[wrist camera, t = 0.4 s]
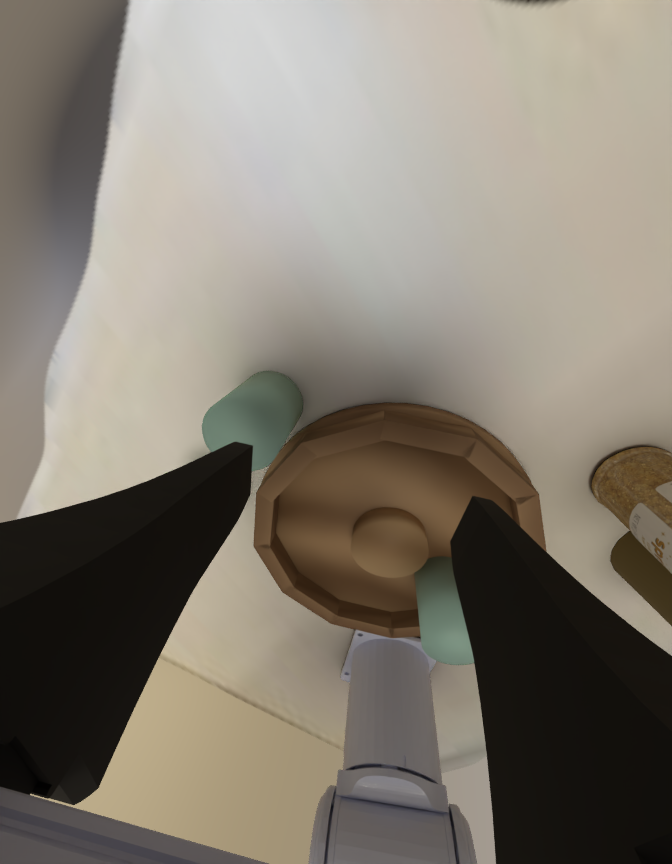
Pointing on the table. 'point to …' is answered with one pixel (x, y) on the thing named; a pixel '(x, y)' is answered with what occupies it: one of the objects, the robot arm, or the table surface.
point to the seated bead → (441, 613)
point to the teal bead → (255, 416)
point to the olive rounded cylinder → (644, 574)
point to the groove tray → (379, 508)
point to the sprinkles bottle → (640, 496)
